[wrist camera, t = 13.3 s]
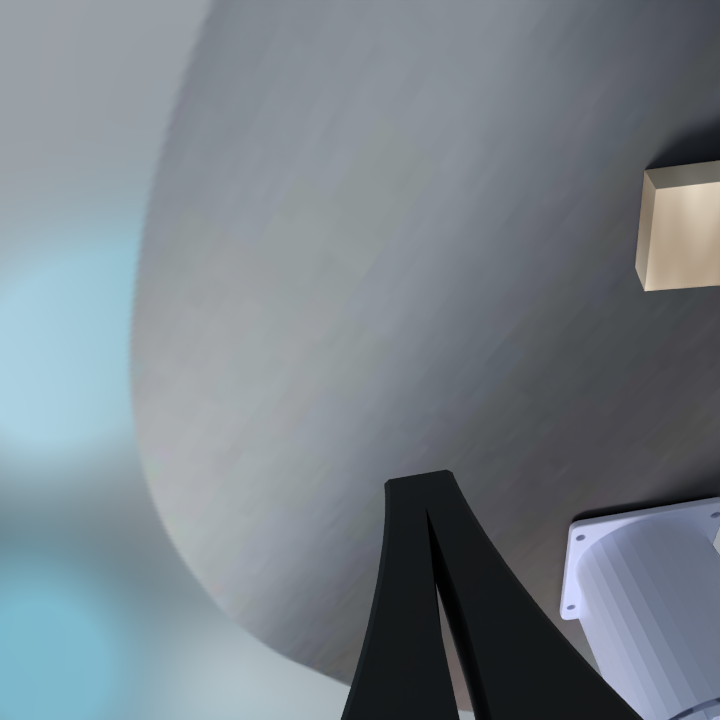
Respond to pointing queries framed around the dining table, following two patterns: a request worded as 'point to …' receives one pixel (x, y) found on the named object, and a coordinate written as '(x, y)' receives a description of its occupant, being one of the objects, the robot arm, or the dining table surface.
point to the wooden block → (680, 227)
